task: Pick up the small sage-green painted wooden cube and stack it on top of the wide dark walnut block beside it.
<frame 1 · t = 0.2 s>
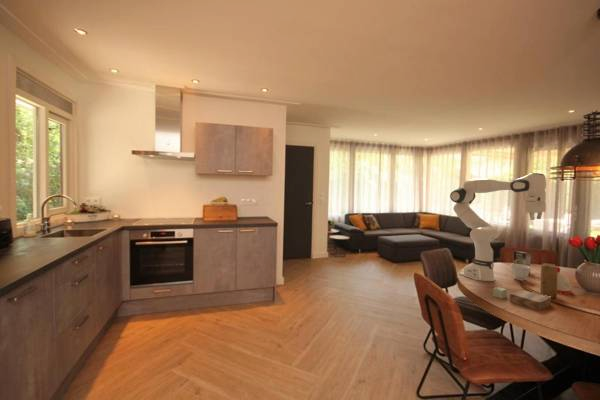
hand: (535, 219, 175), 47 cm above the table, fingers open, 8 cm apart
teacup: (518, 278, 203), on the table
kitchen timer: (556, 289, 181), on the table
block: (548, 296, 171), on the table
sage cube: (499, 296, 170), on the table
coffee box: (521, 272, 220), on the table
walnut base block: (530, 304, 159), on the table
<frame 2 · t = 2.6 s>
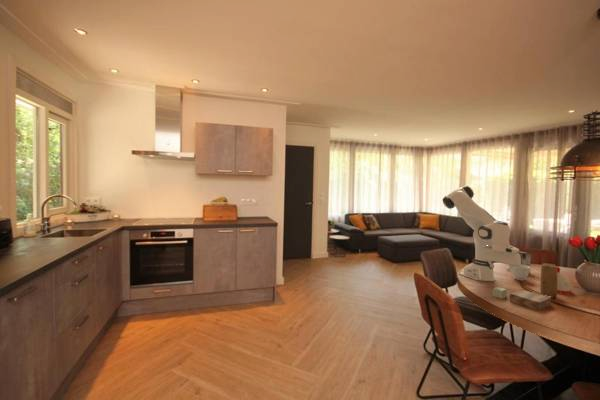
hand: (500, 269, 169), 17 cm above the table, fingers open, 8 cm apart
nothing on the table moved.
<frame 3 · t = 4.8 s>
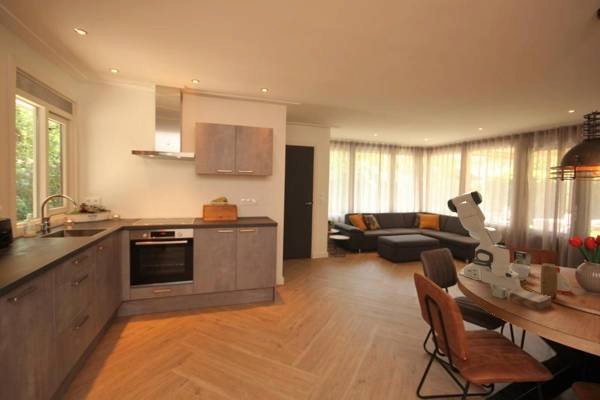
hand: (499, 293, 170), 2 cm above the table, fingers closed on sage cube, 5 cm apart
sage cube: (499, 296, 170), on the table, touching gripper
everything else where it was.
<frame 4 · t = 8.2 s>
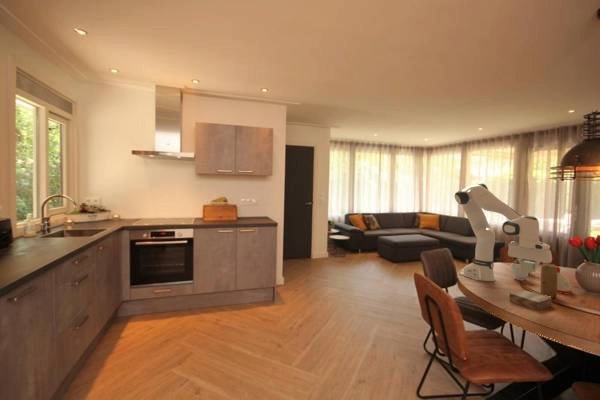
hand: (528, 267, 159), 21 cm above the table, fingers closed on sage cube, 5 cm apart
sage cube: (528, 270, 159), point 19 cm above the table, touching gripper
everything else where it was.
when the fingers open (9 cm above the table, at t = 11.5 s): sage cube drops 2 cm, point 5 cm above the table.
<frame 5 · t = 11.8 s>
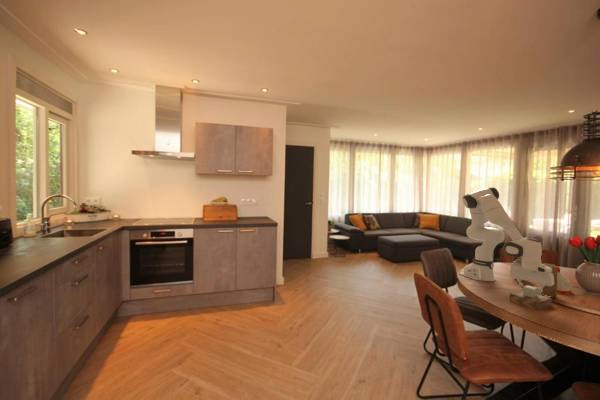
hand: (530, 288, 159), 9 cm above the table, fingers open, 8 cm apart
sage cube: (530, 295, 159), point 5 cm above the table
everything else where it was.
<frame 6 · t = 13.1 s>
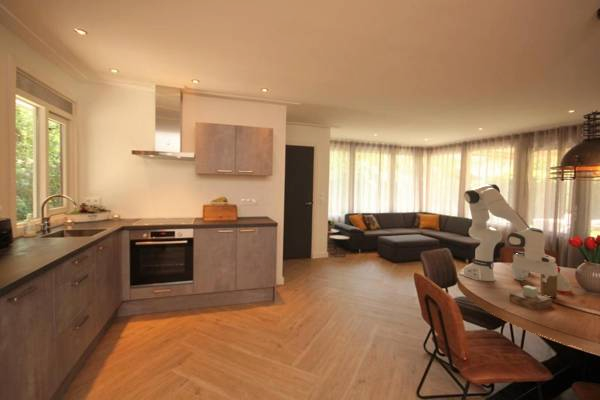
hand: (533, 279, 159), 14 cm above the table, fingers open, 8 cm apart
sage cube: (529, 295, 159), point 4 cm above the table, touching walnut base block
walnut base block: (530, 304, 159), on the table, touching sage cube
everything else where it was.
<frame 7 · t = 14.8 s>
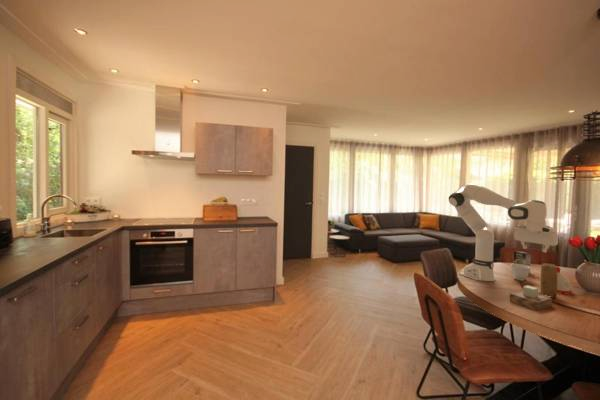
hand: (534, 250, 162), 30 cm above the table, fingers open, 8 cm apart
nothing on the table moved.
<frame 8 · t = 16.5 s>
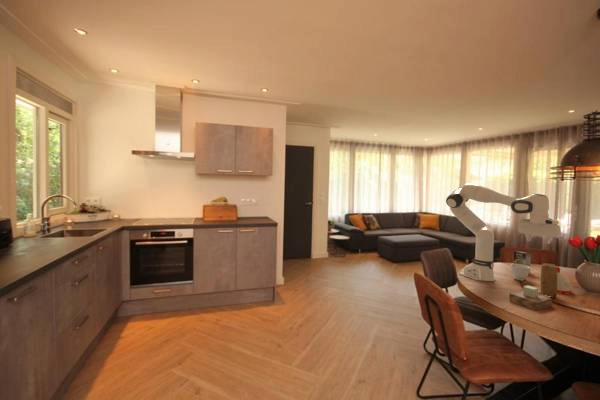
hand: (538, 242, 168), 34 cm above the table, fingers open, 8 cm apart
sage cube: (530, 295, 159), point 5 cm above the table
walnut base block: (529, 304, 159), on the table
everything else where it was.
at the end: sage cube inside the target area on the walnut base block (0.4 cm from its centre), point 5.0 cm above the walnut base block's base; sage cube tilted 0°; the gripper is holding nothing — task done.
